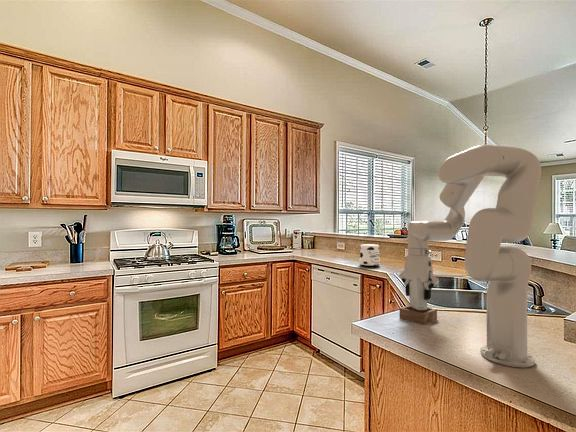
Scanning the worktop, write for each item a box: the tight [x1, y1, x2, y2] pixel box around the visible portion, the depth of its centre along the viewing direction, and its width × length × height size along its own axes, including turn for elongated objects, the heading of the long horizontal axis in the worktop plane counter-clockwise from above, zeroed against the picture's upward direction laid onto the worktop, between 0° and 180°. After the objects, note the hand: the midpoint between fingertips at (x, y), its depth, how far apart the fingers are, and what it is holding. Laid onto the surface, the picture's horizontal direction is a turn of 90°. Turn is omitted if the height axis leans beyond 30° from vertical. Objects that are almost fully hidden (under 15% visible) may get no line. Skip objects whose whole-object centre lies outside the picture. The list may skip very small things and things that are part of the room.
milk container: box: [358, 243, 381, 267], centre depth 264 cm, size 17×17×18 cm
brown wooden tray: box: [399, 304, 438, 326], centre depth 124 cm, size 10×10×4 cm
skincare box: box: [408, 278, 428, 310], centre depth 124 cm, size 6×4×12 cm
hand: (417, 297), depth 124 cm, fingers closed on skincare box, 7 cm apart
